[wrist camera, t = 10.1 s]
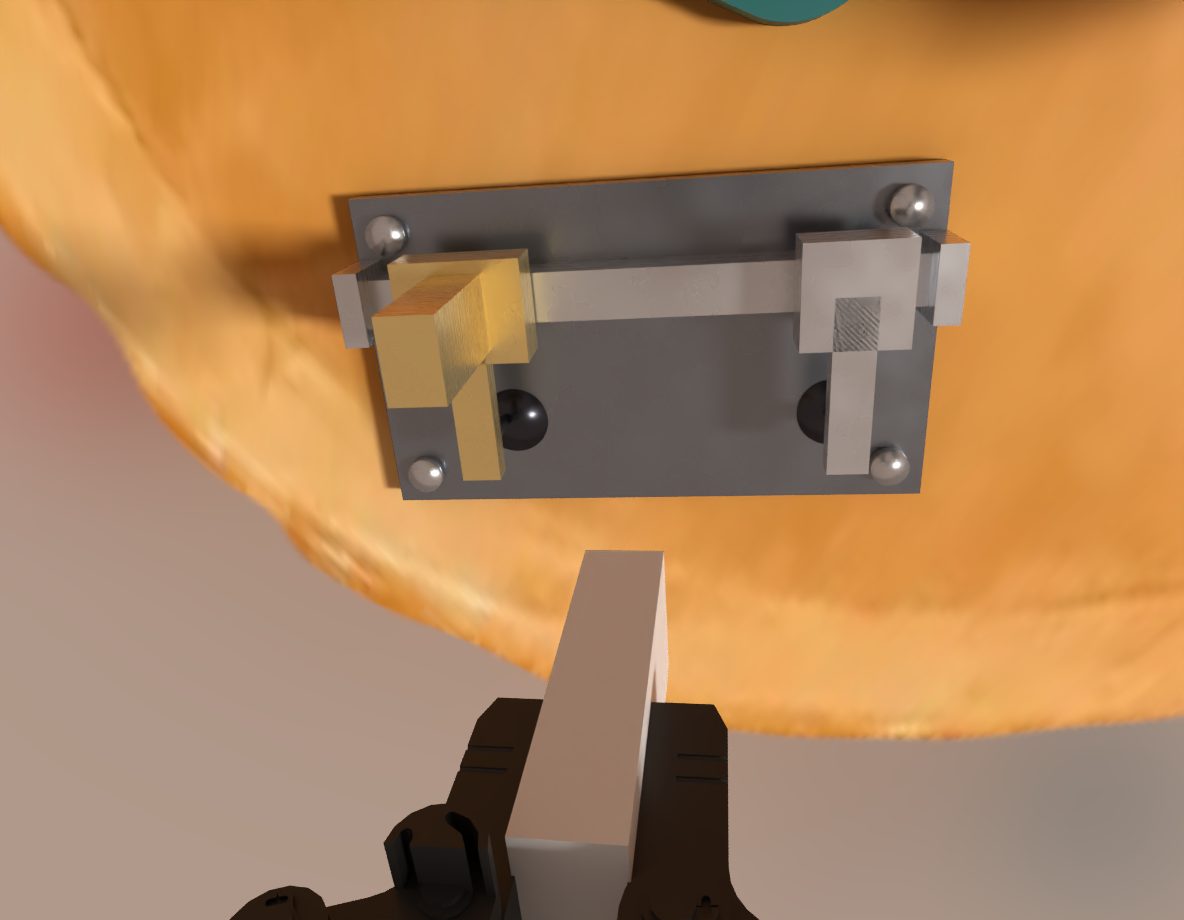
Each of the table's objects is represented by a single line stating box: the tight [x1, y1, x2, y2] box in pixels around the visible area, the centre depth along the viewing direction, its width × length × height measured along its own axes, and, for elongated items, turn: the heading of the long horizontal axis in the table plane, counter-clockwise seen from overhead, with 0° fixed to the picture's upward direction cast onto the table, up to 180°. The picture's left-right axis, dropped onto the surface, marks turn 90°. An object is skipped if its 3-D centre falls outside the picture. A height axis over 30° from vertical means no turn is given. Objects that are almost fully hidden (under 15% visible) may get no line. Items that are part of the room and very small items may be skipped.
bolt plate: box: [348, 159, 954, 500], centre depth 36 cm, size 14×24×2 cm, turn 94°
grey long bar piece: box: [331, 227, 971, 475], centre depth 33 cm, size 9×24×4 cm, turn 94°
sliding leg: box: [371, 248, 538, 481], centre depth 31 cm, size 9×5×10 cm, turn 4°
